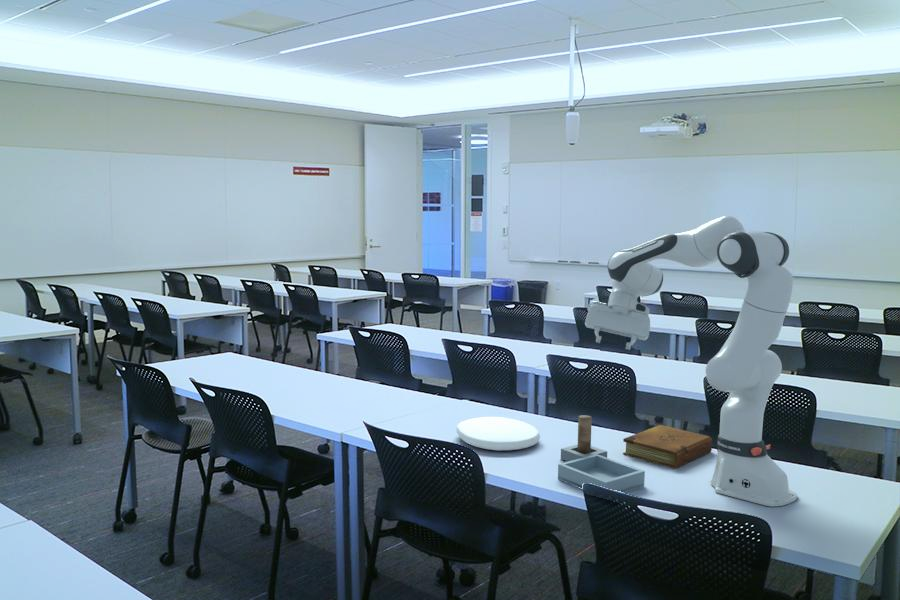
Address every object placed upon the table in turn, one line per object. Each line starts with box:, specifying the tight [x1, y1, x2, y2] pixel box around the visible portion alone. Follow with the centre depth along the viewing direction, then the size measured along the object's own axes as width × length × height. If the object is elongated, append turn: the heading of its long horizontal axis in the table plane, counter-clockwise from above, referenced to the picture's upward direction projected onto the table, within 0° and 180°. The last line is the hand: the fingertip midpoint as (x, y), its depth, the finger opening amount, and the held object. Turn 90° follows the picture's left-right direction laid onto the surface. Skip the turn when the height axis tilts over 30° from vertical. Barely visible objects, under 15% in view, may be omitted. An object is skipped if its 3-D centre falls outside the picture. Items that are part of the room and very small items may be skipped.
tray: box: [557, 454, 646, 494], centre depth 208 cm, size 18×16×4 cm
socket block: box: [560, 444, 608, 462], centre depth 227 cm, size 10×10×4 cm
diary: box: [622, 424, 713, 469], centre depth 235 cm, size 23×19×6 cm
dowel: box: [577, 414, 593, 454], centre depth 226 cm, size 4×4×14 cm
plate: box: [456, 416, 541, 452], centre depth 246 cm, size 28×6×27 cm
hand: (612, 345), depth 231 cm, fingers open, 8 cm apart
